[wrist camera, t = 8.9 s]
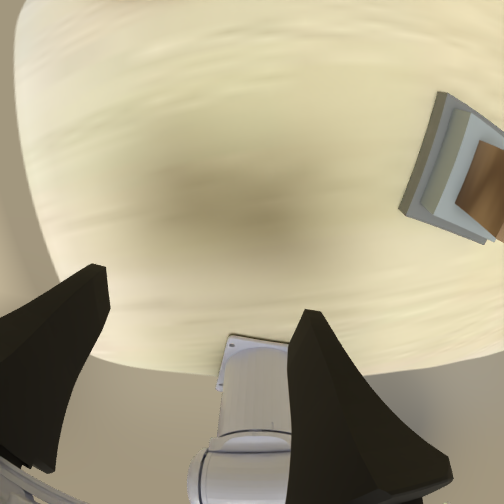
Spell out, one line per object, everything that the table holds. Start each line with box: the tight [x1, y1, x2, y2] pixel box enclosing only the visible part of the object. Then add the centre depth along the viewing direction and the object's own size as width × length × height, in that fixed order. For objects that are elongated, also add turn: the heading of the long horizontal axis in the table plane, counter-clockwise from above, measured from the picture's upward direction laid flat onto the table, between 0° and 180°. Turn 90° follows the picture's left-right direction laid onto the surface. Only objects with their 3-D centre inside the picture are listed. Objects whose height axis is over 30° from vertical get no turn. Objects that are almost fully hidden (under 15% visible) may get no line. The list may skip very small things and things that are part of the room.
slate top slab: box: [420, 108, 504, 242], centre depth 15 cm, size 7×7×2 cm
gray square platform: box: [398, 92, 504, 245], centre depth 16 cm, size 9×9×2 cm
